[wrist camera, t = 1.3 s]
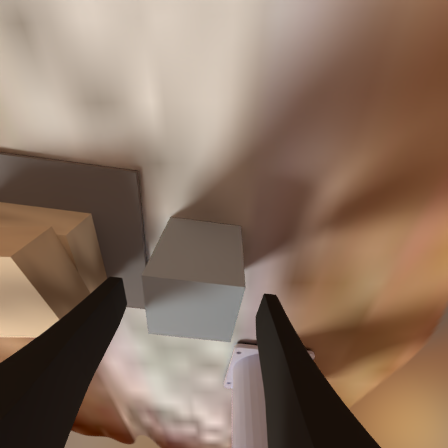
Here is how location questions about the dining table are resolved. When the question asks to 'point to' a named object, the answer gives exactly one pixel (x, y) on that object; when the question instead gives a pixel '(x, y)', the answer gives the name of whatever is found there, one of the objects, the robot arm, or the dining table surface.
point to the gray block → (195, 280)
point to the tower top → (35, 281)
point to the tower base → (63, 236)
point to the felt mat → (87, 208)
